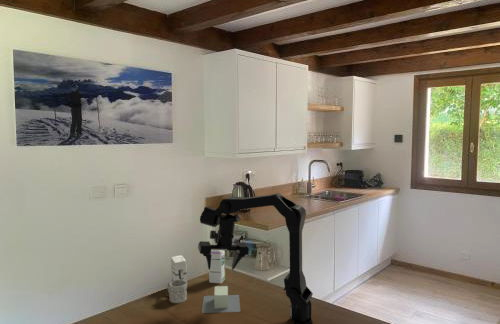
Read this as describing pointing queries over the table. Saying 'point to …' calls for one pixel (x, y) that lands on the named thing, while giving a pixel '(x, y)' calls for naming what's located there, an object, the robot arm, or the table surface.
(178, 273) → the ink box
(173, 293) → the mug
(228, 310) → the tile
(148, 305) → the table surface
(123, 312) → the table surface
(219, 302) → the sage block
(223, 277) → the syrup box
